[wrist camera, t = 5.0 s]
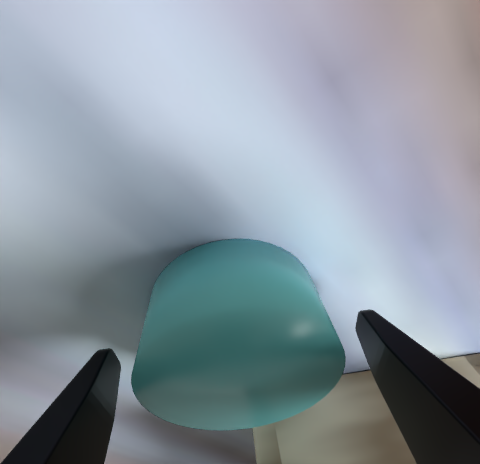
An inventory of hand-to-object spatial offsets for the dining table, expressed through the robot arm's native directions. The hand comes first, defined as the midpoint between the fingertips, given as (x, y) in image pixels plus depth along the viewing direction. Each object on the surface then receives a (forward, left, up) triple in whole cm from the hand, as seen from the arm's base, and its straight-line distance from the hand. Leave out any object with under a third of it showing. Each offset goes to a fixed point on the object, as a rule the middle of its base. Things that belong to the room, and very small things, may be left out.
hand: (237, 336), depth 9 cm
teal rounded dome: (0, 0, -2) cm, 2 cm away
